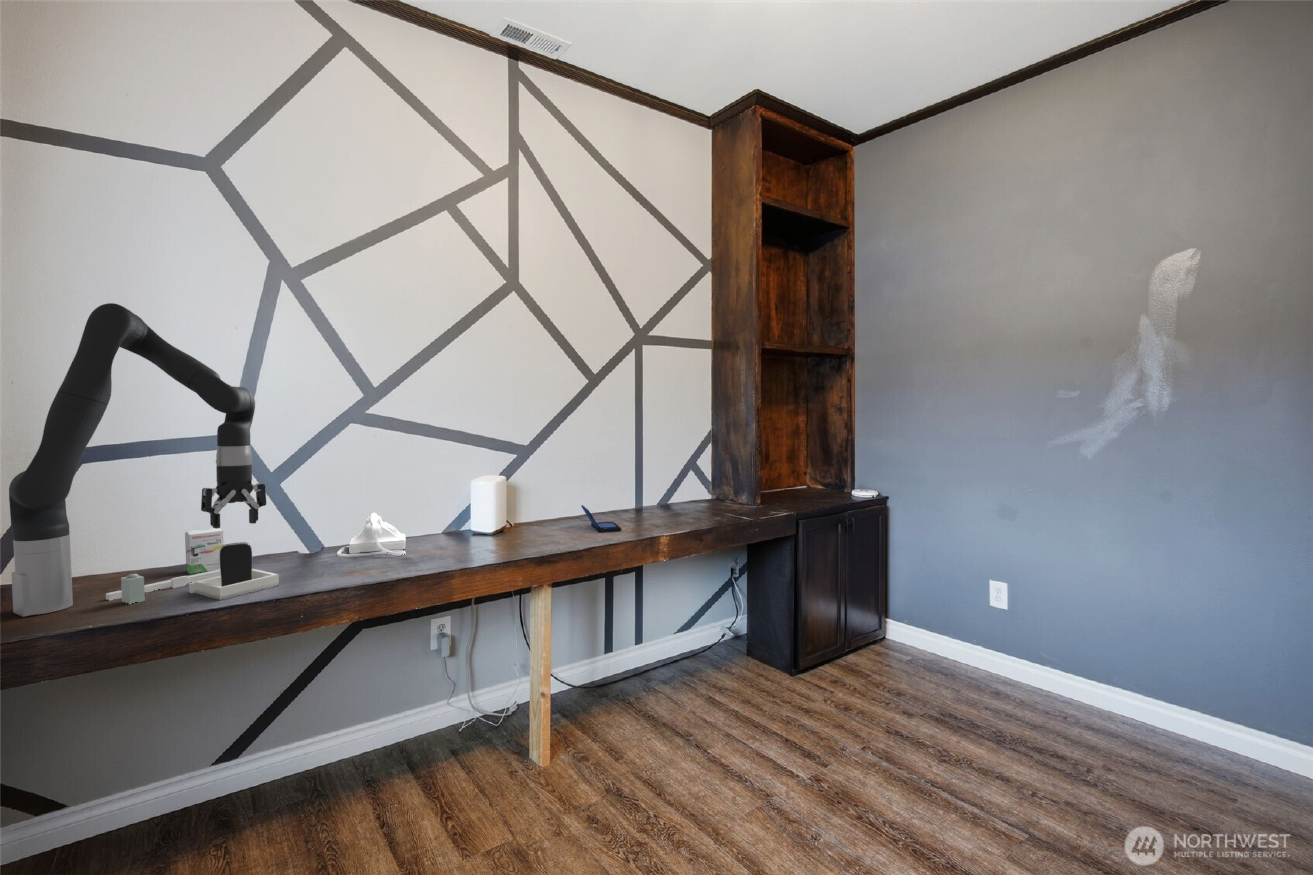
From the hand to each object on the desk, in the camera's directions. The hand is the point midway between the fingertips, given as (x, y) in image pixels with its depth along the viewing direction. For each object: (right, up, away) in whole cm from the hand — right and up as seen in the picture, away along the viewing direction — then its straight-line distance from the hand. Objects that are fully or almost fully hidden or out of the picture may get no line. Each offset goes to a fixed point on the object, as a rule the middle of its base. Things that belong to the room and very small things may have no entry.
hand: (235, 525), depth 154 cm
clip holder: (-15, -17, +2) cm, 23 cm away
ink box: (-23, -16, +20) cm, 35 cm away
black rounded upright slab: (0, -16, +1) cm, 16 cm away
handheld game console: (+88, -14, +81) cm, 120 cm away
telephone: (+15, -16, +44) cm, 49 cm away
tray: (0, -17, +1) cm, 17 cm away
